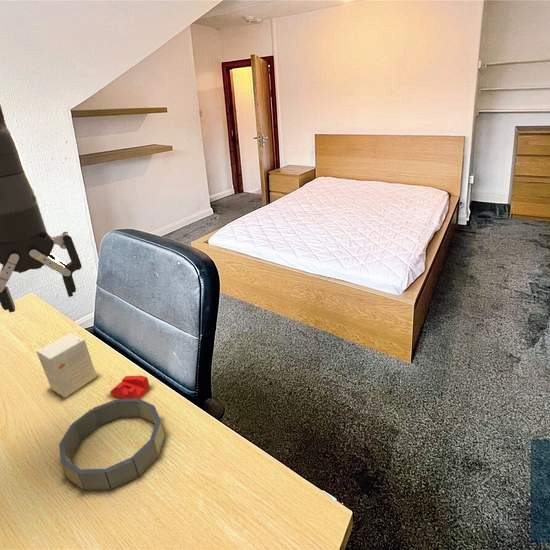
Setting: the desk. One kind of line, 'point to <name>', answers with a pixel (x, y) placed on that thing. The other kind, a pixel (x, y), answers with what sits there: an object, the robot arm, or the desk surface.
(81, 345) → the small box
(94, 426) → the grey segmented ring
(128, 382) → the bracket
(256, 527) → the desk surface
